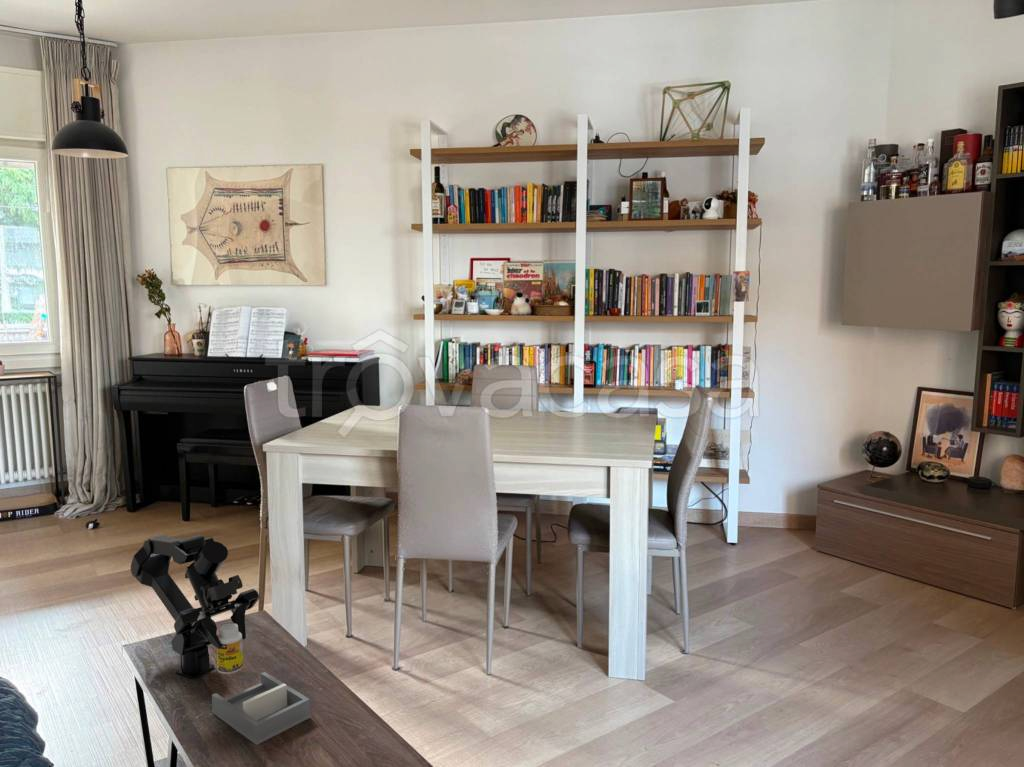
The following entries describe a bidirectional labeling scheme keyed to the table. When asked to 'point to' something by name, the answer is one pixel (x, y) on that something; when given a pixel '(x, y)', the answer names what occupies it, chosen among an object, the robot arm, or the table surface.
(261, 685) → the pusher lane
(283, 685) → the pusher plate
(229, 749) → the table surface
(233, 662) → the supplement bottle
